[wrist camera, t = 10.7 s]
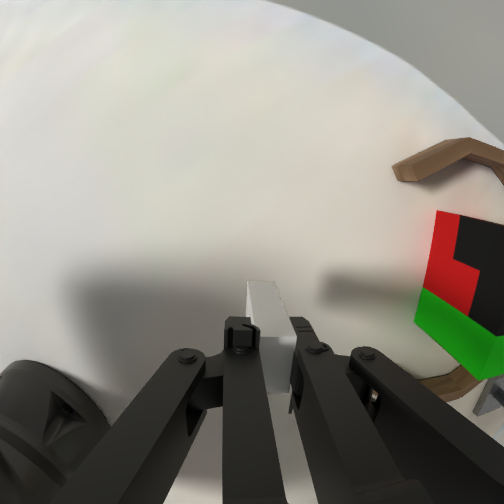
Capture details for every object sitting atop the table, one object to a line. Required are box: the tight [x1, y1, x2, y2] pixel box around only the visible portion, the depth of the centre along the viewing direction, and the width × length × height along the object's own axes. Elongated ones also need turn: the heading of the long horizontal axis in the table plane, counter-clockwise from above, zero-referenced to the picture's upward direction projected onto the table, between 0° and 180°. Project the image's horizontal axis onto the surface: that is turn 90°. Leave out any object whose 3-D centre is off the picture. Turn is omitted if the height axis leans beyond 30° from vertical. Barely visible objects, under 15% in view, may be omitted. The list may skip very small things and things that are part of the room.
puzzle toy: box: [414, 210, 504, 381], centre depth 19 cm, size 10×10×10 cm
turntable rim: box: [373, 137, 504, 402], centre depth 22 cm, size 24×21×3 cm
